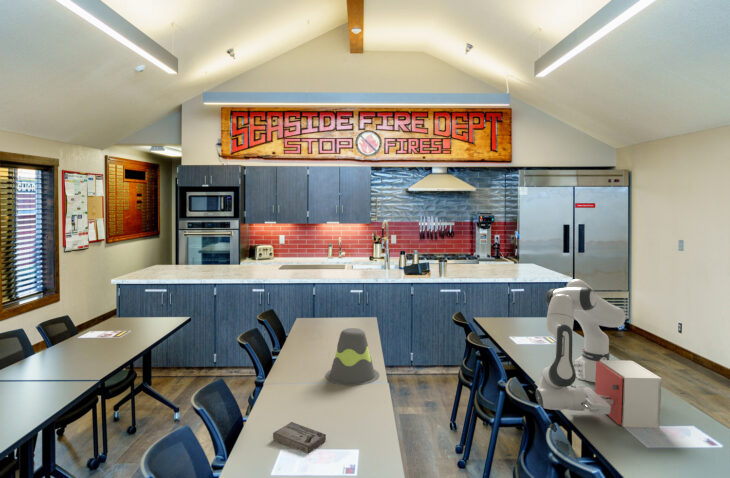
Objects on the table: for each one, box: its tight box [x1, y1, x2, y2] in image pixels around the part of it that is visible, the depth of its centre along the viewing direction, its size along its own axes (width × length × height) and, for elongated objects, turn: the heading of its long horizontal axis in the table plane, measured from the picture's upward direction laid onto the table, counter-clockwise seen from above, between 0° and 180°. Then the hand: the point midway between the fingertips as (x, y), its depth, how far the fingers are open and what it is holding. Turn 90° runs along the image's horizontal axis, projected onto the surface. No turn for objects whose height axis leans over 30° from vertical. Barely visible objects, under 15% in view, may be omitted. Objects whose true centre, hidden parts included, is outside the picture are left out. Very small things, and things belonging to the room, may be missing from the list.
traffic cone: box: [325, 327, 380, 386], centre depth 243 cm, size 28×28×24 cm
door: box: [594, 361, 623, 426], centre depth 198 cm, size 21×3×19 cm, turn 178°
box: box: [272, 421, 327, 454], centre depth 174 cm, size 11×17×3 cm, turn 57°
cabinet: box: [600, 359, 662, 429], centre depth 197 cm, size 22×14×20 cm, turn 178°
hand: (611, 400), depth 194 cm, fingers closed, pressing on door
